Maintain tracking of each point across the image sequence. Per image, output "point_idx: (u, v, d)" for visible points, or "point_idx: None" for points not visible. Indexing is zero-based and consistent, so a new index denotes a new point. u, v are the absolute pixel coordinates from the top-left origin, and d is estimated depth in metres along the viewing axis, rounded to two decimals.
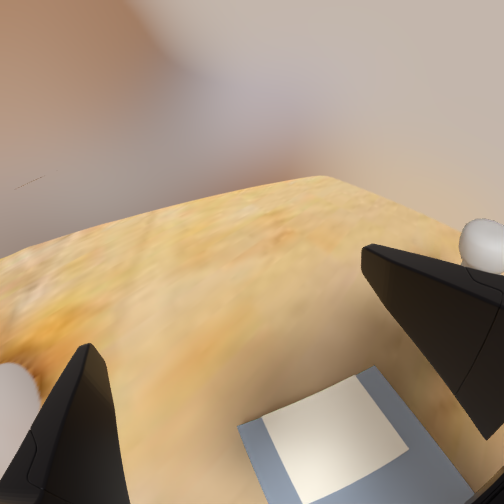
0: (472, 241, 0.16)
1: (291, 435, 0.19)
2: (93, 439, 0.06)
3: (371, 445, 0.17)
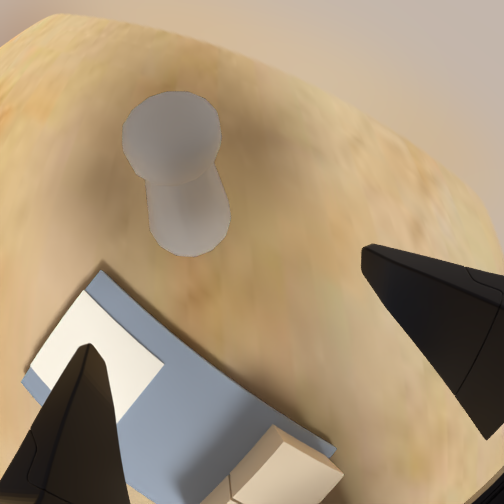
0: (130, 151, 0.11)
1: (59, 376, 0.18)
2: (93, 439, 0.06)
3: (126, 367, 0.19)
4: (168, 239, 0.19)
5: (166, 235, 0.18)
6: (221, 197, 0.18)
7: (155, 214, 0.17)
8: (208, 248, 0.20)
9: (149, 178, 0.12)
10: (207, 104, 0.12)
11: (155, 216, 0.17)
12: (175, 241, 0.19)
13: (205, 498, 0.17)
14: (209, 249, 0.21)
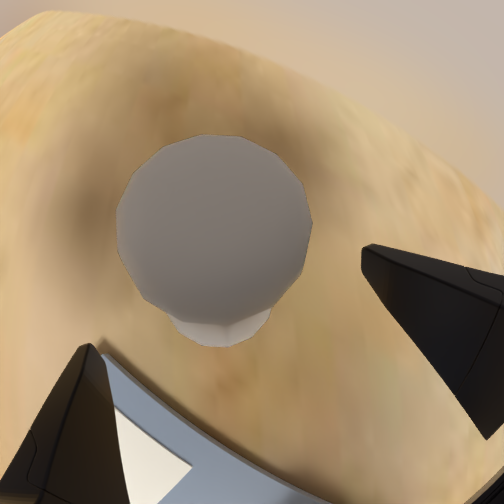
0: (137, 278, 0.06)
1: None
2: (93, 439, 0.06)
3: (145, 468, 0.14)
4: (194, 335, 0.13)
5: (192, 332, 0.13)
6: None
7: None
8: (246, 338, 0.15)
9: None
10: (286, 171, 0.06)
11: None
12: (205, 339, 0.13)
13: None
14: (247, 338, 0.15)
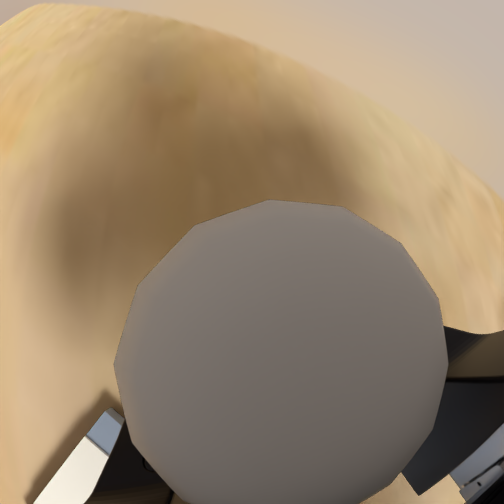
0: (177, 491, 0.03)
1: None
2: None
3: None
4: None
5: None
6: None
7: None
8: None
9: None
10: (425, 284, 0.03)
11: None
12: None
13: None
14: None
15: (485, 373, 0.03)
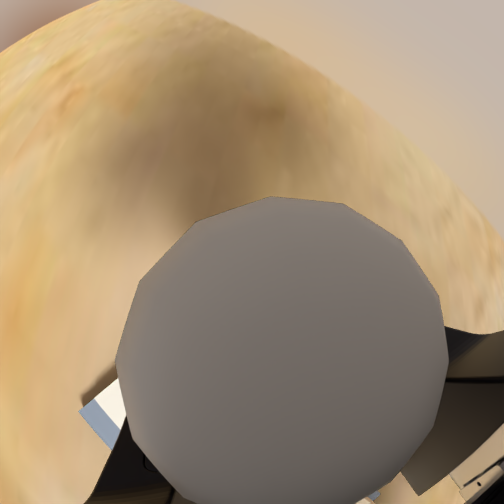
0: (178, 487, 0.03)
1: None
2: None
3: None
4: None
5: None
6: None
7: None
8: None
9: None
10: (425, 281, 0.03)
11: None
12: None
13: None
14: None
15: (485, 373, 0.03)
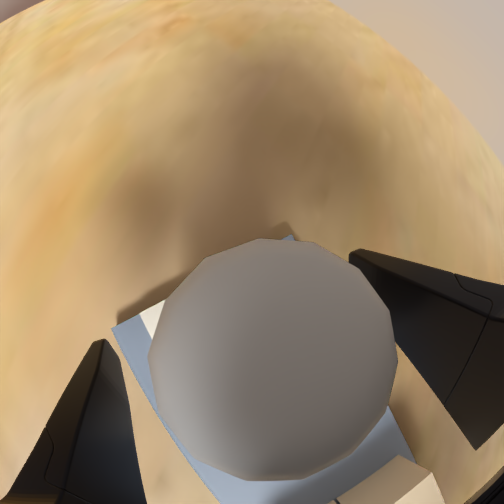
0: (191, 449, 0.04)
1: None
2: (110, 436, 0.06)
3: None
4: None
5: None
6: None
7: None
8: None
9: None
10: (375, 301, 0.05)
11: None
12: None
13: None
14: None
15: None
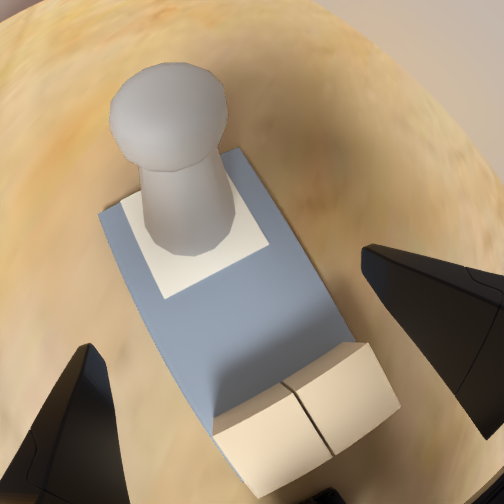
0: (118, 130, 0.09)
1: None
2: (93, 439, 0.06)
3: (229, 234, 0.22)
4: (165, 236, 0.17)
5: (163, 231, 0.16)
6: (225, 189, 0.16)
7: (149, 207, 0.14)
8: (209, 246, 0.18)
9: (140, 162, 0.10)
10: (211, 76, 0.10)
11: (149, 210, 0.15)
12: (173, 239, 0.17)
13: (242, 403, 0.19)
14: (211, 248, 0.18)
15: None
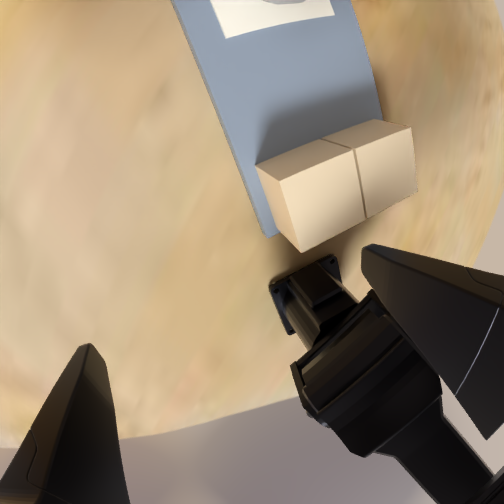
0: None
1: None
2: (93, 439, 0.06)
3: None
4: None
5: None
6: None
7: None
8: (300, 0, 0.13)
9: None
10: None
11: None
12: None
13: (284, 153, 0.20)
14: (299, 1, 0.13)
15: None
